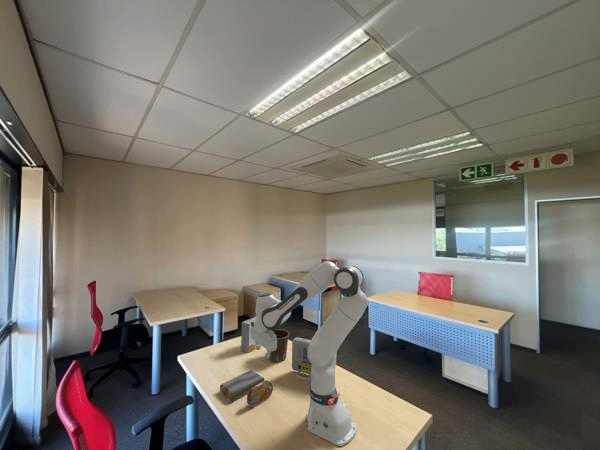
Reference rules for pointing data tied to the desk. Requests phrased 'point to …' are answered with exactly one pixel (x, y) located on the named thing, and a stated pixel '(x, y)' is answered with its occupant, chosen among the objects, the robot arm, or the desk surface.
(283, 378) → the desk surface
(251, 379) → the plinth
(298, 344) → the network device
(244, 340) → the hard drive box
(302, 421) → the desk surface
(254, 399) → the tin
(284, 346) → the plant pot
